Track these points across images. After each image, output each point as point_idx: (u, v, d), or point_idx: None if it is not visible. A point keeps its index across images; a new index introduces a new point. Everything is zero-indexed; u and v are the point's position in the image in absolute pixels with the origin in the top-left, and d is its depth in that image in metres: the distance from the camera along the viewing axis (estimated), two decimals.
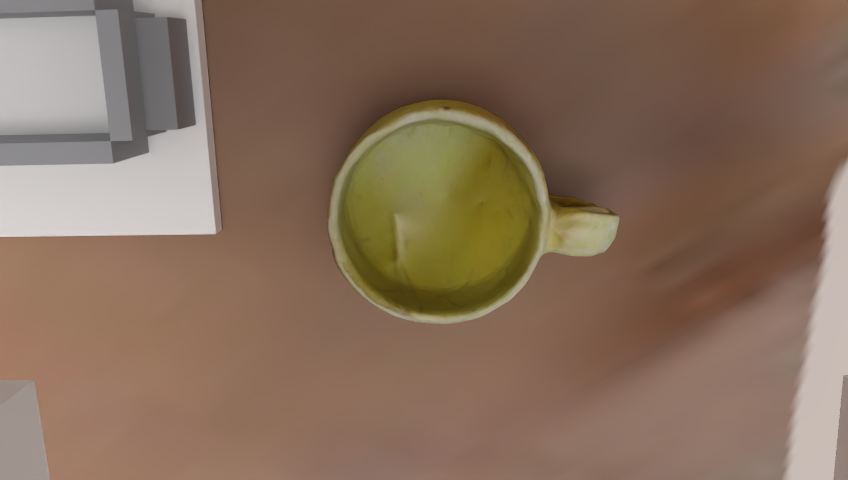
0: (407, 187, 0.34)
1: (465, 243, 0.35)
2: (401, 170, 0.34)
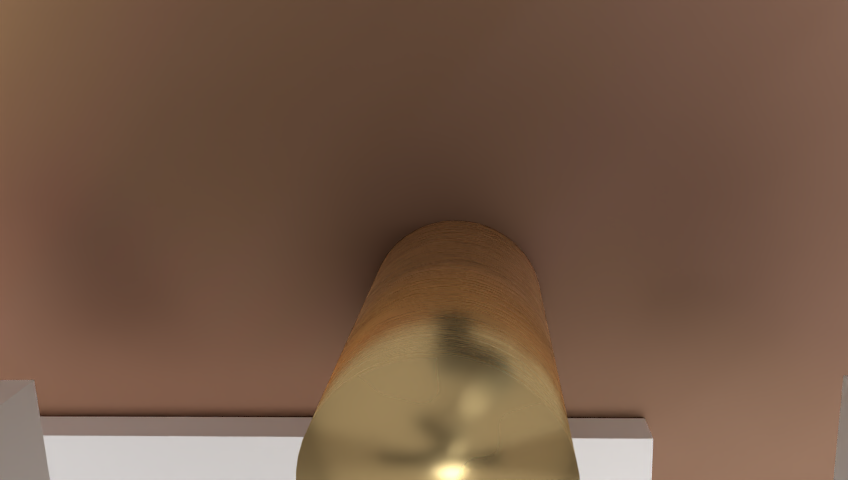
0: None
1: None
2: None
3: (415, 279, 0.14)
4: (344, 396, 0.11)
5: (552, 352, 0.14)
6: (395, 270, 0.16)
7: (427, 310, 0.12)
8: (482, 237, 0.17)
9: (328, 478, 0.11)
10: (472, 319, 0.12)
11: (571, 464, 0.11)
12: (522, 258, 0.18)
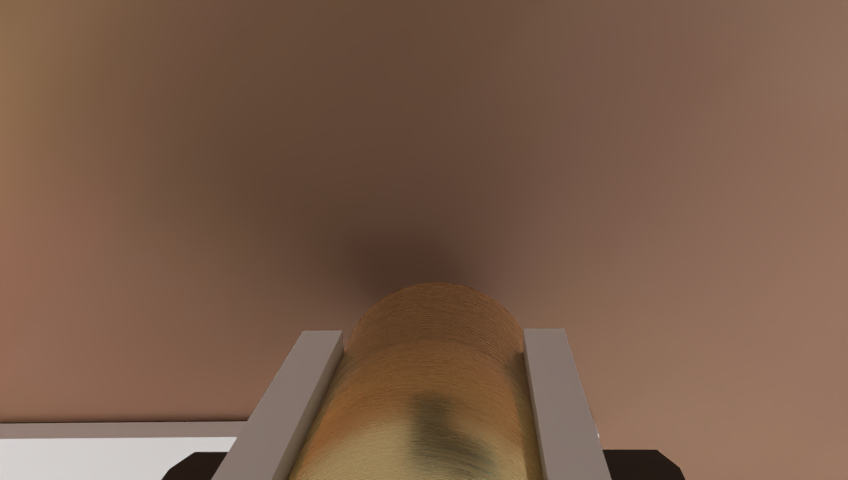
0: None
1: None
2: None
3: (385, 365, 0.12)
4: None
5: None
6: (364, 348, 0.13)
7: (396, 414, 0.10)
8: (466, 304, 0.15)
9: None
10: (449, 427, 0.10)
11: None
12: (512, 326, 0.15)
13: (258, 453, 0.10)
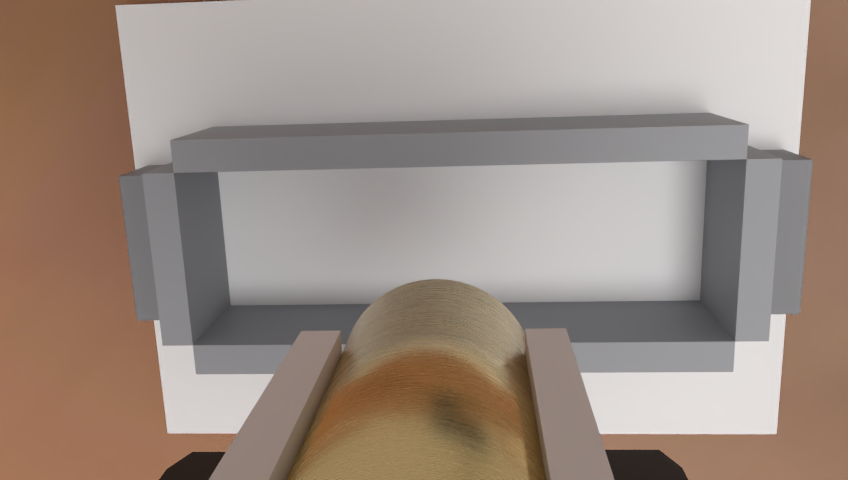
0: None
1: None
2: None
3: (385, 360, 0.12)
4: None
5: None
6: (364, 345, 0.14)
7: (397, 407, 0.10)
8: (465, 300, 0.15)
9: None
10: (449, 420, 0.10)
11: None
12: (511, 321, 0.16)
13: (256, 453, 0.10)
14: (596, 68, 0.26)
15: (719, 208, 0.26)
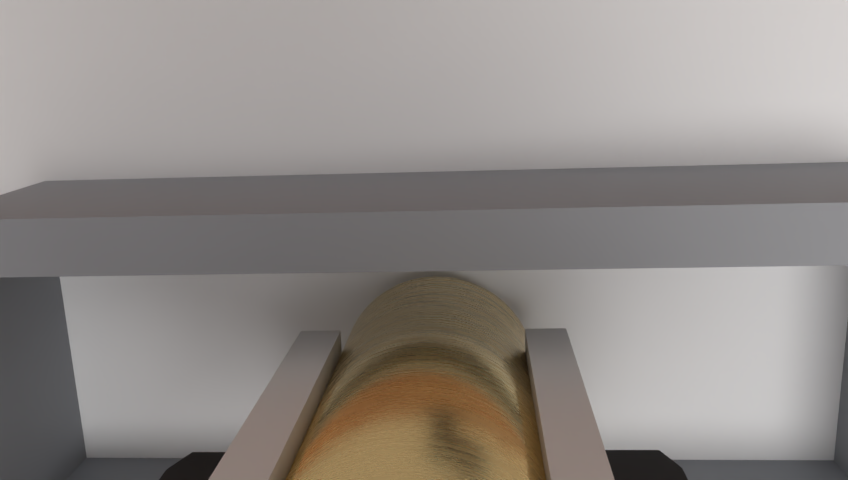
0: None
1: None
2: None
3: (384, 358, 0.12)
4: None
5: None
6: (364, 342, 0.14)
7: (395, 405, 0.10)
8: (465, 297, 0.15)
9: None
10: (448, 417, 0.10)
11: None
12: (511, 319, 0.16)
13: (256, 453, 0.10)
14: (674, 88, 0.16)
15: None
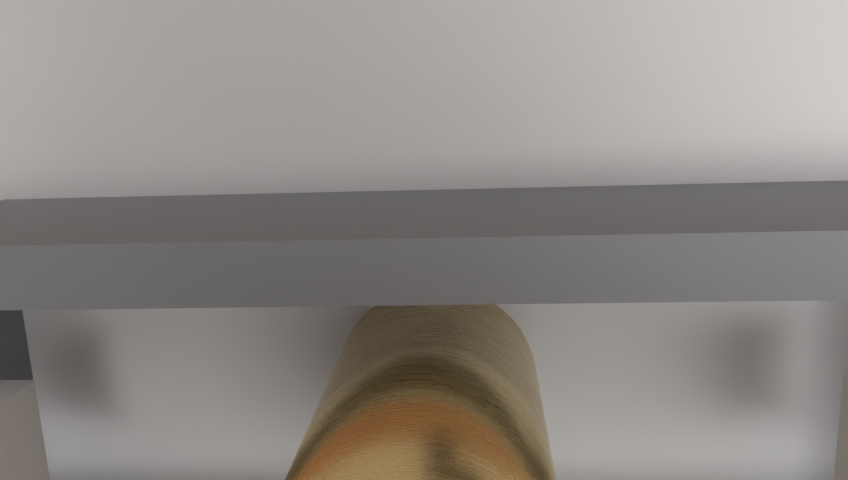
0: None
1: None
2: None
3: (378, 377, 0.11)
4: None
5: (550, 465, 0.11)
6: (357, 358, 0.13)
7: (387, 433, 0.10)
8: (464, 308, 0.14)
9: None
10: (445, 446, 0.09)
11: None
12: (512, 330, 0.15)
13: None
14: (686, 100, 0.14)
15: None
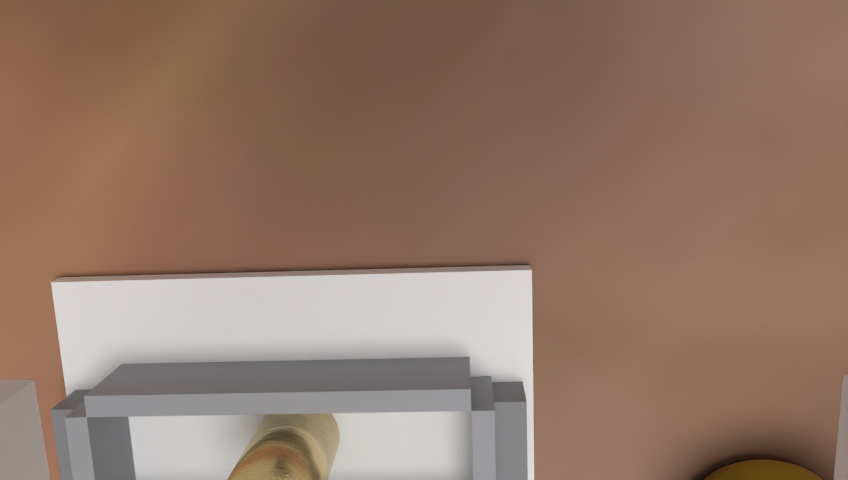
0: None
1: None
2: None
3: (263, 438, 0.34)
4: None
5: (320, 466, 0.34)
6: (260, 430, 0.36)
7: (261, 456, 0.33)
8: None
9: None
10: (276, 460, 0.32)
11: None
12: (325, 416, 0.38)
13: None
14: (389, 327, 0.38)
15: None
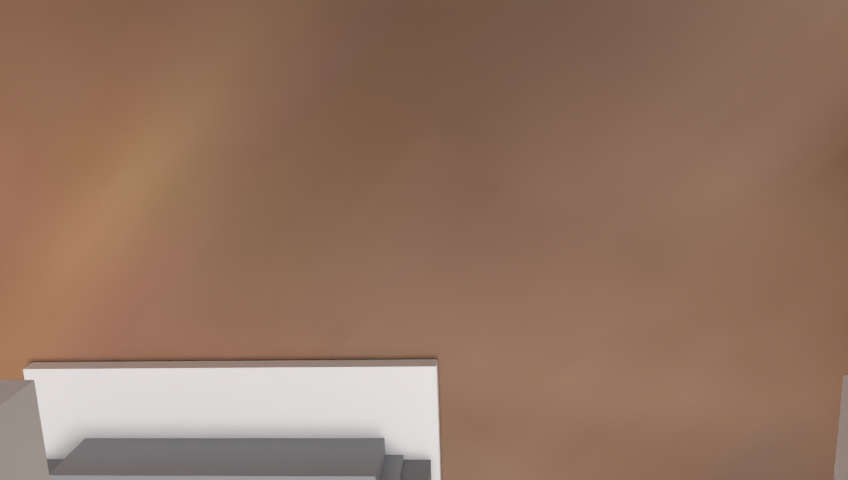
0: None
1: None
2: None
3: None
4: None
5: None
6: None
7: None
8: None
9: None
10: None
11: None
12: None
13: None
14: (314, 412, 0.43)
15: None
